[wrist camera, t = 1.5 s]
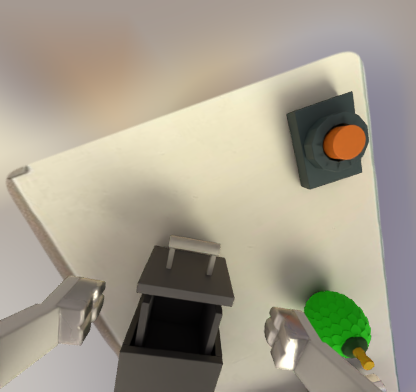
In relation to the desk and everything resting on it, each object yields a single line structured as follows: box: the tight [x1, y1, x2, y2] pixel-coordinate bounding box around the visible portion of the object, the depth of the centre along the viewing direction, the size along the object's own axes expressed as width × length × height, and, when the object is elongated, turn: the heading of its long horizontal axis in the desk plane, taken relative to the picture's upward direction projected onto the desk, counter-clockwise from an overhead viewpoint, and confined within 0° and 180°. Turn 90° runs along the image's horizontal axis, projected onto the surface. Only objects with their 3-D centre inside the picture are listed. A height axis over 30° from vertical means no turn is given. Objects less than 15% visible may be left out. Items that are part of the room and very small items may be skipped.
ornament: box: [304, 291, 374, 370], centre depth 27 cm, size 8×8×10 cm
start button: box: [323, 125, 366, 160], centre depth 21 cm, size 4×4×2 cm
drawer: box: [135, 235, 234, 356], centre depth 25 cm, size 17×10×8 cm, turn 167°
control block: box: [287, 91, 369, 189], centre depth 24 cm, size 10×7×4 cm
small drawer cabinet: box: [114, 293, 223, 392], centre depth 27 cm, size 14×12×10 cm
